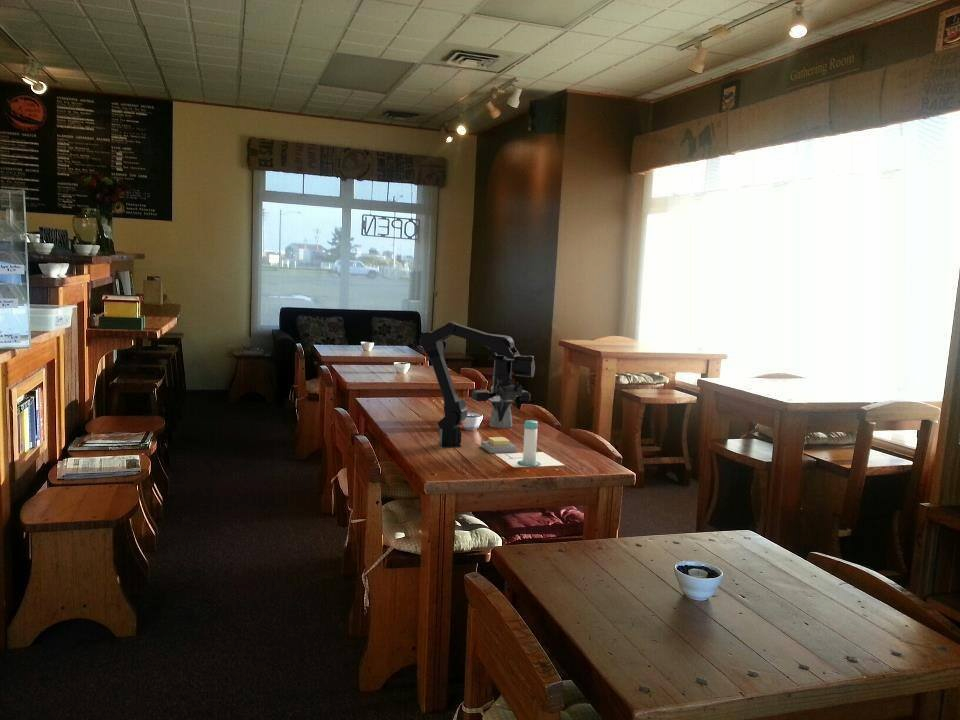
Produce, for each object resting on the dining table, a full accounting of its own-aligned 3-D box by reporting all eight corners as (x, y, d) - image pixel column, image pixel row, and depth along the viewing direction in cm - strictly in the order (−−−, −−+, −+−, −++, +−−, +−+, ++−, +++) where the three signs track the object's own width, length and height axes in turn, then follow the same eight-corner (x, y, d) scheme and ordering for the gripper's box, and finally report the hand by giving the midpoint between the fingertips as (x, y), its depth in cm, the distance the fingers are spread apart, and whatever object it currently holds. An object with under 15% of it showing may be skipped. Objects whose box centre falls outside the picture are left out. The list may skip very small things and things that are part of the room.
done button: (493, 447, 249) (494, 441, 249) (488, 443, 254) (488, 437, 254) (509, 447, 251) (509, 440, 251) (503, 443, 256) (503, 437, 256)
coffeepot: (502, 430, 286) (504, 382, 284) (481, 426, 291) (483, 379, 289) (522, 424, 299) (525, 379, 296) (502, 421, 304) (504, 376, 302)
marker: (523, 464, 234) (525, 422, 232) (522, 461, 238) (524, 420, 236) (536, 464, 234) (538, 423, 233) (534, 461, 238) (537, 420, 236)
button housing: (490, 454, 247) (490, 447, 247) (481, 448, 256) (481, 441, 255) (516, 453, 250) (516, 446, 250) (506, 447, 259) (506, 440, 258)
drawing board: (512, 469, 230) (512, 467, 230) (492, 454, 247) (492, 452, 247) (566, 467, 236) (567, 464, 236) (543, 453, 253) (543, 451, 253)
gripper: (483, 378, 239) (481, 427, 241) (538, 378, 245) (535, 425, 247) (472, 373, 250) (470, 420, 252) (525, 373, 256) (522, 419, 258)
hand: (499, 421), depth 252 cm, fingers closed
